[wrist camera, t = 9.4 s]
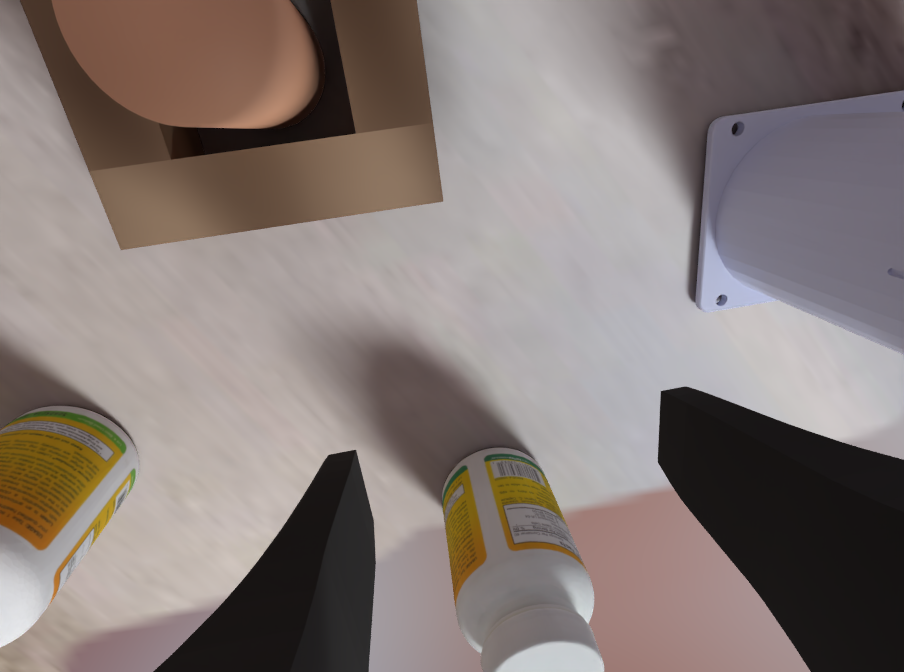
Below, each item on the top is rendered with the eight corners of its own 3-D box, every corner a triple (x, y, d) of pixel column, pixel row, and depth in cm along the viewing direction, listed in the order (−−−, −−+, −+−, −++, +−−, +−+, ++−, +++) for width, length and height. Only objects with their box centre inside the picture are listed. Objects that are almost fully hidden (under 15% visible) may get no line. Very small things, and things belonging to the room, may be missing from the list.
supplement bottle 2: (523, 427, 24) (602, 602, 15) (557, 503, 26) (645, 696, 17) (422, 471, 24) (441, 668, 15) (464, 543, 26) (502, 753, 17)
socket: (386, -162, 15) (386, -229, 12) (435, 191, 19) (443, 201, 16) (30, -124, 14) (-55, -186, 11) (161, 232, 18) (121, 250, 16)
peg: (303, -17, 16) (228, -143, 9) (339, 115, 18) (303, 103, 10) (182, 10, 16) (3, -95, 9) (230, 140, 17) (113, 146, 10)
